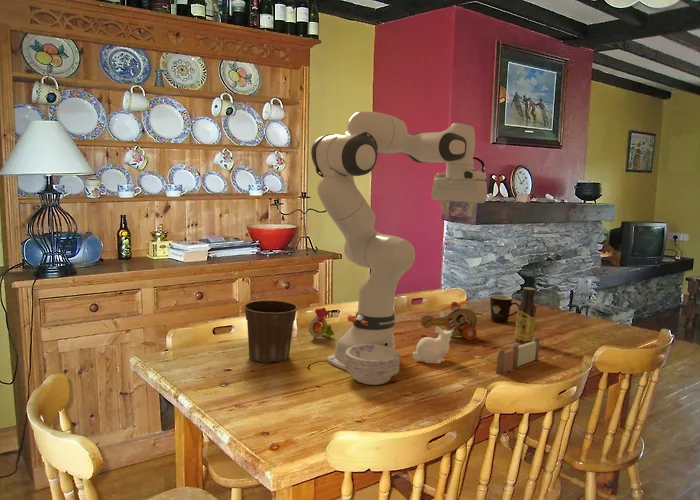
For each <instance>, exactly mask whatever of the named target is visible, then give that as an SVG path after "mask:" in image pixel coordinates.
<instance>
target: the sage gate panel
mask: <svg viewBox="0 0 700 500" xmlns="http://www.w3.org/2000/svg"><path fill="white" fill-rule="evenodd" d="M540 339H541V338H540V337H538V336H533V340H532V342H529V343H526V344H521V345H518V346H519V347H518V359H517V367H520V366H522V365H526V364H528V363H530V362H533V361H538V360H539V352H540V351H539V350H540Z"/></svg>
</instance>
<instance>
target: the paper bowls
mask: <svg viewBox="0 0 700 500" xmlns="http://www.w3.org/2000/svg"><path fill="white" fill-rule="evenodd" d="M400 361H401V354H400V352H399V351H398V350H396V348H395V349H393V348H390V347H387V346H382V345H373V344H365V345H356V346H352V347H350V348H348V349H347V350H346V352H345V369H346V370H345V369H344V370H345V371H346V372H348V373H349V374H351V376H352V378H353V379H354V380H355V381H357V382H358V383H361V384H364V385H369V386H370V385H371V386H379V385H384V384H385V383H388V382H389V381H391V379H392V377H393V376H396V375H397V374H398V373H399V372H400Z"/></svg>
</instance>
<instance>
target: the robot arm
mask: <svg viewBox="0 0 700 500" xmlns="http://www.w3.org/2000/svg"><path fill="white" fill-rule="evenodd" d="M475 134H476V133H475V129H474V127H473V126H472V125H471V124H469V123H463V122H453V123H451V125H450V126H449V127H448V128H446V129H445V130H442V131H435V132H434V131H433V132H432V131H431V132H426V131H425V132H422V131H421V132H419V131H418V132H415V133H413V134H409V133H408V128H407V125H406V122H405V121H403V120H401V119H400V118H398V117H397V116H393V115H391V114H386V113H382V112H378V111H358V112H355V113H354V114H352V115H351V116H350V119H349V120H348V122H347V127H346V132H345V133H344V134H341V133H340V134H339V133H337V134H330V133H329V134H324V135H322V136H319V137H318V138H316V139H315V140H314V142H313V143H312V145H311V149H310V150H311V151H310V152H311V153H310V154H311V156H310V157H311V160H312V162H313V164H314V167H315V172H316V174H317V175H318V176H320V177H321V180H319V182H318V185H317V189H316V190H317V195H318V197H319V199H320V201H321V203H322V206H323V207H324V209H325V211H326V212H327V214H328V215H329V217H330V218H331V219H332V221H333V222H334V224H335V225H336V226H337V228H338V229H339V231H340V232H341V234H342V235H343V237H344V239H345V242H344V245H343V253H344V255H345V257H346V259H348V261H350V262H352V263H353V264H355V265H357V266H360V267H363V268H367V269H370V270H371V271H370V275H369V278H368V280H367V281H365V282H364V283H362V284H361V285H360V287H359V288H358V299H357V300H358V303H357V304H358V305H357V306H358V307H357V312H356V313H355V315H352V314H348V316H347V317H346V320H347V322H350V323H352V326H351V327H350V328H349V329H348V330H346V332H345V333H344V334H342V336H341V337H340V338H339V339H338V340H337V341H336V344H335V351H334V354H330V355H328V356H327V357H326V361H327V363H329V364H331V365H332V366H334V367H336V368H339V369H342V370H345V371H347V370H346V369H345V352H346V350H347V349H348V348H350V347H352V346H356V345H365V344H373V345H382V346H387V347H390V348H393V349H395V350H396V347H395V346H396V345H395V344H396V343H395V336H394V335H395V334H394V326H395V321H396V319H395V318H396V317H395V313H394V309H395V308H394V307H395V295H396V289H397V286H398V284H399V281H400V279H401V277H402V276H403V275H404V274H405V273H407V271H409V270H410V269H411V267H412V266H413V264H414V262H415V259H416V252H415V248H414V245H413V244H412V243H411V242H410V241H408V240H406V239H404V238H402V237H399V236H396V235H392V234H391V235H390V234H385V233H384V234H383V233H380V232H379V231H377V230H376V229H375V223H376V214H375V212H374V211H373V209H372V208H371V206H370V204H369V203H368V202H367V200H366V199H365V197H364V196H363V194H362V193H361V192H360V190H359V189H358V187H357V185H356V183H355V180H354V179H355V178H354V177H360V176H364V175H367V174H370V173H371V172H372V170H373V169H374V168H375V166H376V163H377V161H378V153H382V154H396V153H401V154H404V155H406V156H408V157H409V158H410V159H411V160H412V161H414V162H416V163H418V164H424V163H446V165H445V167H446V169H445V172H438V173H437V174H435V176H434V177H433V184H432V189H431V198H432V200H434V201H439V204H440V206H441V209H442V211H441V212H442V214H443V215H450V209H449V208H448V207H447V204H448V202H459V203H460V202H461V203H468V209H467V210H465V217H472V216H473V211H474V210H475V208H476V206H477V204H484V203H486V202H487V197H488V186H487V181H485V180H486V179H487V173H485V172H484V171H481V170H478V169H476V168H475V167H474V166H475V165H474V164H475V163H474V156H475V155H474V154H475V151H476V150H475V149H476V135H475Z"/></svg>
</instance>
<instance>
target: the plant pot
mask: <svg viewBox="0 0 700 500" xmlns="http://www.w3.org/2000/svg"><path fill="white" fill-rule="evenodd" d="M243 308H244V312H245V320H246V323H247V339H248V340H247V341H248V355H249V359H251V360H252V361H255V362H257V363H264V364H271V363H272V362H275V363H281V362H285V361H287V360H288V359H289V358H290V353H291V352H290V351H291V344H292V337H293V328H294V322H295V320H296V314H297V311H298V309H299V307H298V305H296V304H295V303H292V302H289V301H285V300H283V301H282V300H268V299H267V300H256V301H255V300H253V301H249V302H248V303H245V304H244V306H243Z"/></svg>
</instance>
